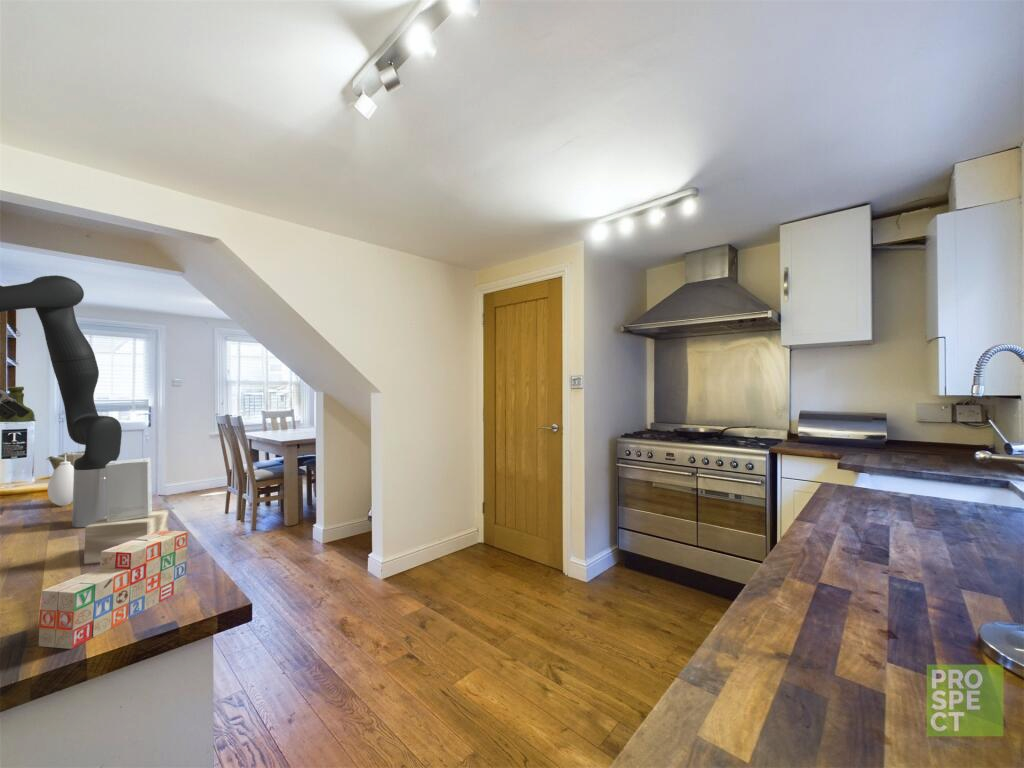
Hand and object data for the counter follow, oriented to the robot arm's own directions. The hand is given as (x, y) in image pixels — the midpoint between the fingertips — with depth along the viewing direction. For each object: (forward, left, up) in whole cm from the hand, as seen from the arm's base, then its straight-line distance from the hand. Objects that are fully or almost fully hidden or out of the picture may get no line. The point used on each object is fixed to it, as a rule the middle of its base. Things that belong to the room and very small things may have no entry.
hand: (19, 416), depth 105 cm
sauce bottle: (-49, -20, -35) cm, 63 cm away
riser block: (+5, +27, -35) cm, 44 cm away
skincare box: (+5, +27, -26) cm, 38 cm away
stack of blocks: (+40, +44, -35) cm, 69 cm away
